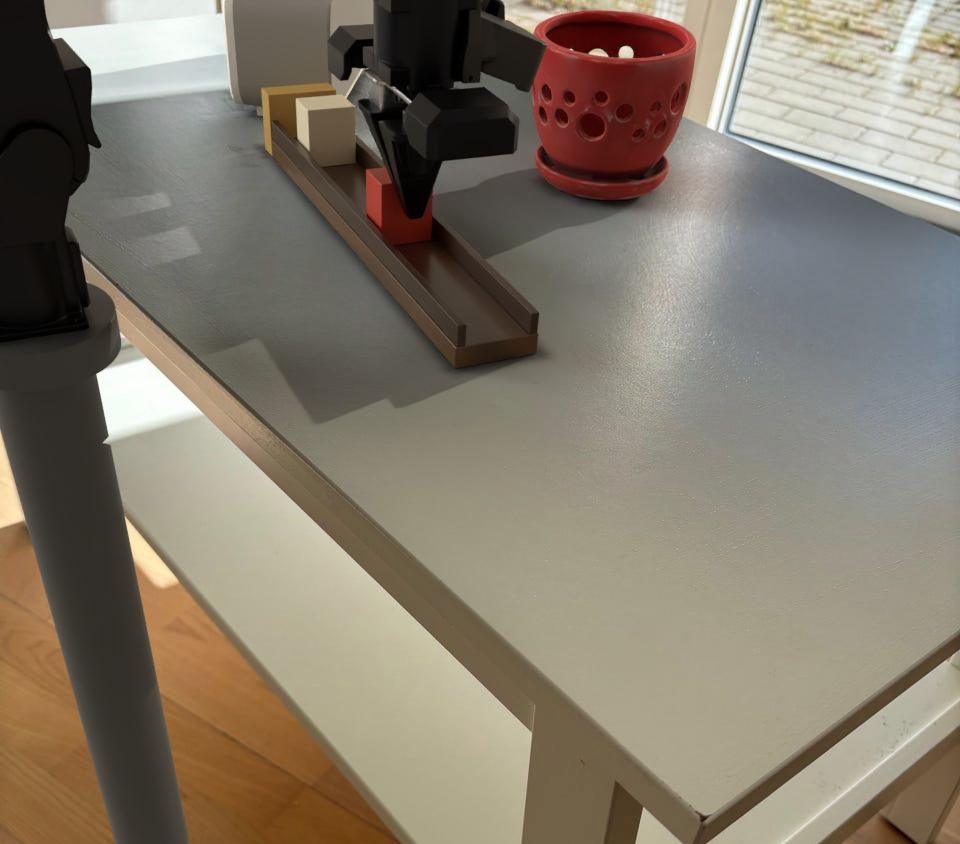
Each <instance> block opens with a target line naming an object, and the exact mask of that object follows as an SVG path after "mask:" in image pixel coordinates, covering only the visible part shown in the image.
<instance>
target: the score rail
mask: <svg viewBox="0 0 960 844" xmlns="http://www.w3.org/2000/svg"><path fill="white" fill-rule="evenodd" d="M271 124H272V138H273V139H272V140H271V141H272V156H273V157H272V156H271V157H272V158H273V159H274V160H275V161H276V163H277V164H278V165H279V166H280V167H281V168H282V170H283V171H284V172H285V173H286V174H287V175H288V176H289V177H290V179H291V180H292V181H293V183H295V185H297V187H298V188H299V189H300V191H301V192H302V193H303V194H304V195H305V196H306V197H307V198H308V200H309V201H310V202H311V204H313V206H314V207H315V208H316V209H317V210H318V211H319V212H320V214H321V215H322V216H323V217H324V218H325V219H326V221H327V222H328V223H329V224H330V226H331V227H332V228H333V229H334V230H335V231H336V232H337V233H338V235H339V236H340V237H341V238H342V239H343V240H344V242H345V243H346V244H347V245H348V246H349V247H350V248H351V250H352V251H353V252H354V253H355V254H356V255H357V257H358V258H359V259H360V260H361V261H362V263H363V264H364V265H365V266H366V267H367V268H368V270H369V271H370V272H371V273H372V274H373V275H374V276H375V278H376V279H377V280H378V281H379V282H380V283H381V285H382V286H383V287H384V288H385V290H386V291H388V293H389V294H390V295H391V296H392V298H393V299H394V300H395V301H396V302H397V303H398V304H399V306H401V308H402V309H403V310H404V311H405V313H406V314H407V315H408V316H409V318H411V319H412V320H413V322H414V323H415V324H416V325H417V327H418V328H419V329H420V330H421V331H422V332H423V333H424V334H425V336H426V337H427V338H428V339H429V341H431V343H432V344H433V345H434V346H435V347H436V349H438V351H439V352H440V353H441V354H442V356H444V357H445V359H446V360H447V362H449V363H450V365H451V366H452V367H453V368H454V369H459V368H465V367H470V366H476V365H481V364H487V363H493V362H497V361H503V360H509V359H513V358H514V359H515V358H521V357H524V356H529V355H536V354H537V350H538V342H539V333H538V331H539V322H540V311H539V310H538V309H537V308H536V307H535V306H534V305H532V304H531V302H530V301H528V299H526V298H525V297H524V295H522V294H521V293H520V292H519V291H518V290H517V289H516V288H515V287H514V286H513V285H512V284H511V283H510V282H509V281H508V280H507V279H506V278H505V277H504V276H503V275H501V273H500V272H498V270H497V269H496V268H494V266H492V265H491V263H489V262H488V261H487V260H486V259H485V258H484V257H483V256H482V255H481V254H480V253H479V252H478V251H477V250H476V249H475V248H474V247H473V246H472V245H471V244H470V243H469V242H467V240H466V239H464V238H463V236H462V235H461V234H460V233H458V232H457V231H456V230H455V229H454V228H453V227H452V226H451V225H450V223H448V222H447V221H446V220H445V219H444V218H443V217H442V216H441V215H440V214H439V213H438V212H436V210H435V209H433V208H432V235H431V240H428V241H421V242H414V243H406V244H399V245H393V244H392V243H391V242H390V241H389V240H388V239H387V238H386V237H385V236H384V235H383V234H382V233H381V231H380V230H379V229H378V228H377V227H376V226H375V225H374V224H373V223H372V222H371V221H370V220H369V218H368V217H367V210H366V169H374V168H383V167H385V165H384V162H383V160H382V157H381V156H380V157H379V155H378V154H377V153H376V152H375V151H374V150H372V148H370V146H369V145H367V144H366V142H364V141H363V140H362V139H361V138H360V137H359V136H358V134H356V133H355V142H356V163H355V164H345V165H336V166H327V167H320V165H319V164H318V163H317V162H316V161H315V160H314V159H313V158H312V157H311V156H310V155H309V154H308V152H307V151H306V150H305V149H304V148H303V147H302V146H301V145H300V144H299V143H298V137H293V136H292V135H291V134H290V133H289V132H288V131H287V130H286V129H285V128H284V126H283V125H282V124H281V123H280V122H279V121H278V120H274V121H271Z"/></svg>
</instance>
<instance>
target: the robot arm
mask: <svg viewBox="0 0 960 844" xmlns="http://www.w3.org/2000/svg"><path fill="white" fill-rule="evenodd" d="M45 3H46V2H45V0H0V343H1V342H7V341H14V340H21V339H27V338H34V337H41V336H47V335H54V334H61V333H67V332H74V331H81V330H86V329H88V328H89V327H90V325H89V320H88V317H87V315H86V313H85V310H84V308H85V307H88V306H89V305H90V298H89V293H88V288H87V283H86V282H87V279H86V273H85V268H84V263H83V257H82V253H81V247H80V243H79V242H78V239H77V237H76V235H75V233H74V231H73V229H72V228H71V227H69V226H68V225H66V220H67V213H68V208H69V203H70V198H71V197H72V196H73V195H74V194H75V193H76V192H77V190H78V189H79V188H80V187H81V186H82V184H85V183H86V181H87V180H88V176H89V173H90V169H91V168H90V167H91V151H90V146H91V147H93V148H95V149H97V150H98V149H101V148H102V142H101V140H100V138H99V136H98V134H97V132H96V130H95V127H94V122H93V118H92V101H93V100H92V98H93V97H92V96H93V77H92V69H91V68H90V67H89V65H88V64H87V63H86V62H85V61H84V60H83V59H82V58H81V57H80V55H78V53H77V52H76V51H75V50H74V49H73V48H72V47H71V46H70V45H69V44H68V42H67V41H66V40H65V39H64V38H63V37H56V38H54V36H53V34H52V31H51V27H50V25H49V20H48V17H47V12H46V4H45ZM505 7H506V5H505V2H504V1H503V0H373V24H364V25H345V26H339V27H338V28H337V29H336V31H335V32H334V33H333V34H332V36H331V37H330V38H329V39H328V41H327V53H328V70H329V71H330V72H331V73H332V74H333V75H334V76H336V77H337V78H338V79H339V80H340V81H346V80H349V78H350V75H351V73H352V68H359V69H362V68H364V69H363V76H364V77H365V78H367V80H368V98H360V99H358V100H357V106H358V109H359V110H360V112H361V113H362V115H363V118H364V120H365V122H366V124H367V127H368V130H369V131H370V134H371V136H372V138H373V141H374V143H375V145H376V147H377V150H378V152H379V155H380V158H381V159H382V160H383V162H384V165H385V167H386V169H387V172H388V174H389V177H390V179H391V182H392V184H393V187H394V189H395V192H396V194H397V196H398V199H399V201H400V204H401V206H402V209H403V211H404V214H405V215H406V216H407V217H408V218H409V219H420V218H422V217H423V215H424V212H425V209H426V207H427V204H428V201H429V198H430V195H431V193H432V190H433V191H434V188H435V184H436V181H437V178H438V175H439V173H440V170H441V167H442V165H443V163H444V162H449V161H458V160H459V161H460V160H468V159H478V158H488V157H497V156H507V155H514V154H515V153H516V152H517V151H518V147H519V146H518V145H519V134H520V121H521V119H520V117H519V116H518V115H517V114H516V113H515V111H514V109H512V108H511V107H510V105H509V104H508V103H507V102H505V101H504V100H503V99H501V98H500V97H499V96H497V95H496V94H494V93H493V92H492V91H490V90H489V89H488V88H487V87H485V86H478V87H465V88H464V87H463V88H460V87H457V86H455V83H460V82H461V83H462V84H464V85H467V84H469V85H470V84H480V83H481V76H482V74H484V75H486V76H490V77H492V78H496V79H498V80H501V81H503V82H506V83H509V84H511V85H514V87H515V89H516V90H518V91H520V92H523V93H527V94H529V93H531V91H532V84H533V82H534V79H535V77H536V74H537V71H538V69H539V66H540V63H541V61H542V58H543V56H544V53H545V50H546V48H547V45H548V44H547V43H546V42H544V41H543V40H541V39H540V38H538V37H536V36H535V35H533V33H531V32H530V31H528V30H527V29H525V28H523V27H522V26H520V25H517V24H515V23H514V22H513V21H511V20H508V19H506V8H505Z"/></svg>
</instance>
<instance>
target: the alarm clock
mask: <svg viewBox="0 0 960 844" xmlns="http://www.w3.org/2000/svg"><path fill="white" fill-rule="evenodd" d="M222 19H223V20H222V21H223V31H224V40H225V41H224V42H225V54H226V64H227V78H228V87H229V92H230V95H231V98H232V100H233V101H234V102H235V103H236V104H237V105H247V106H256V116H258V117H259V116H260V117H263V107H262V92H261V88H266V87H279V86H292V85H305V84H318V83H329V84H330V85H331V86H332V87H333V88H334V89H335V90H336V95H343V96H344V97H345V98H346V99H348V97H349V95H350V93H351V91H352V89H354V86H355V84H356V83H357V81H358V79H359V78H360V76H361V75H362V72H364V70H365V68H362V69H359V68H352V73H351V75H350V78H349V80H346V81H340V80H339V79H338V78H337V77H336V76H334V75H333V74H332V73H331V72H330V71H329V70H328V53H327V41H328V39H329V38H330V37H331V36H332V34H333V33H334V32H335V31H336V29H337V28H338V27H339V26H345V25H364V24H373V0H222Z"/></svg>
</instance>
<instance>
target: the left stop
mask: <svg viewBox="0 0 960 844" xmlns="http://www.w3.org/2000/svg"><path fill="white" fill-rule="evenodd" d="M261 92H262V107H263V116H262V121H263V122H262V123H263V134H264V135H263V136H264V149H265V150H266V151H267V152H268V154H269V155H270V156H271V157H272V158H273V156H272V141H271V140H272V139H273V138H272V124H271V121H274V120H278V121H279V122H280V123H281V124H282V125H283V126H284V128H285V129H286V130H287V131H288V132H289V133H290V134H291V135H292V136H293V137H298V136H297V115H296V98H306V97H318V96H330V95H336V90H335V89H334V88H333V87H332V86H331V85H330V84H329V83H318V84H305V85H292V86H279V87H266V88H261Z"/></svg>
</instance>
